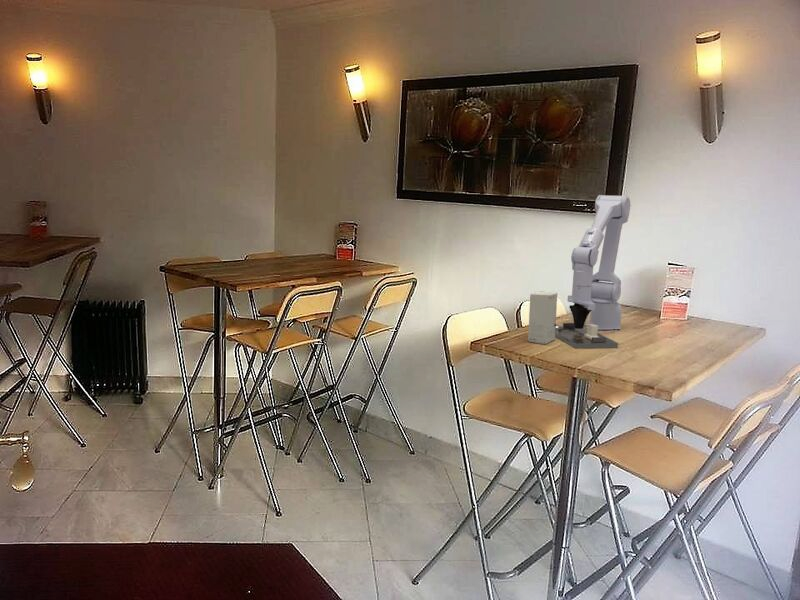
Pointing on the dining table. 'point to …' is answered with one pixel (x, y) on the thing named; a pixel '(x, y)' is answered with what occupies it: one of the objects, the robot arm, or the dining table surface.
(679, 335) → the dining table surface
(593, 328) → the block
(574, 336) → the console
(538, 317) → the skincare box
